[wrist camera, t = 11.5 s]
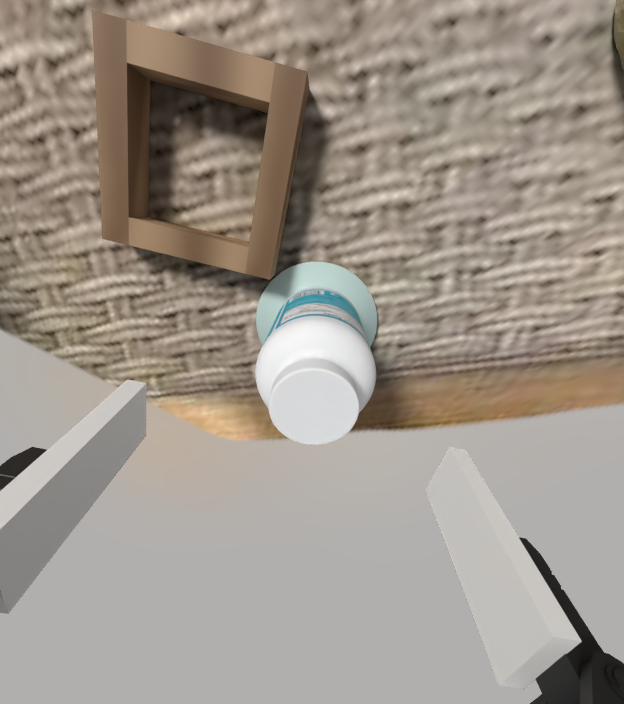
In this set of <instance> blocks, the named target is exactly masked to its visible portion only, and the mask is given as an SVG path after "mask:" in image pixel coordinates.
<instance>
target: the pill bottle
mask: <svg viewBox="0 0 624 704" xmlns="http://www.w3.org/2000/svg"><path fill="white" fill-rule="evenodd" d="M375 381H376V366H375V361H374V358H373V355H372V352H371V349H370V346H369V343H368V341H367V338H366V335H365V332H364V330H363V327H362V324H361V321H360V319H359V316H358V313H357V311H356V309H355V307H354V305H353V304H352V302H351V301H350V300H349V299H348V298H347V297H346V296H345V295H343V294H342V293H340V292H339V291H337V290H334V289H332V288H328V287H323V286H313V287H307V288H304V289H301V290H299V291H297V292H296V293H294V294H292V295H291V296H290V297H289V298H288V299H287V300H286V301H285V302H284V304H283V305H282V307H281V308H280V310H279V312H278V314H277V317H276V319H275V321H274V323H273V325H272V327H271V330H270V332H269V334H268V336H267V338H266V340H265V342H264V344H263V346H262V348H261V351H260V353H259V356H258V359H257V364H256V383H257V387H258V390H259V393H260V395H261V397H262V399H263V401H264V402H265V404H266V405H267V407H268V408H269V413H270V417H271V419H272V422H273V423H274V425H275V426H276V428H277V429H278V430H279V431H280V432H281V433H282V434H283V435H285V436H286V437H288V438H289V439H291V440H294V441H296V442H299V443H302V444H308V445H322V444H327V443H331V442H333V441H336V440H338V439H340V438H342V437H343V436H344V435H346V434H347V433H348V432H349V431H350V430H351V429H352V427H353V426H354V424H355V422H356V420H357V418H358V414H359V412H361V411H362V409H363V408H364V407H365V406H366V404H367V403H368V401H369V399H370V398H371V396H372V393H373V390H374V387H375Z"/></svg>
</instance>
